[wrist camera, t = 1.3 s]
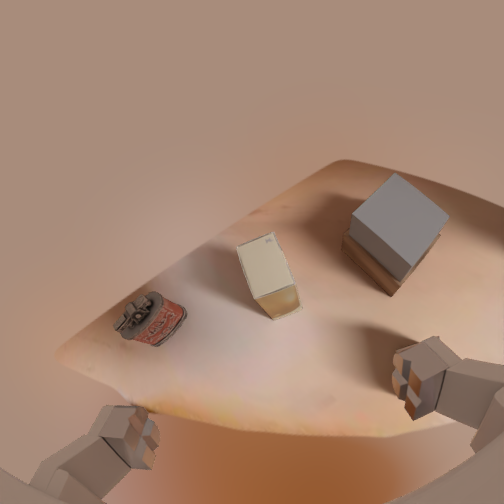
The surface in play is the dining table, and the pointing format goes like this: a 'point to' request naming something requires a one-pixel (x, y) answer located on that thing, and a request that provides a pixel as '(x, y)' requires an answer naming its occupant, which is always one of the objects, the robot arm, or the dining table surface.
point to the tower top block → (397, 225)
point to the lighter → (150, 319)
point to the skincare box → (269, 276)
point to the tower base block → (376, 264)
